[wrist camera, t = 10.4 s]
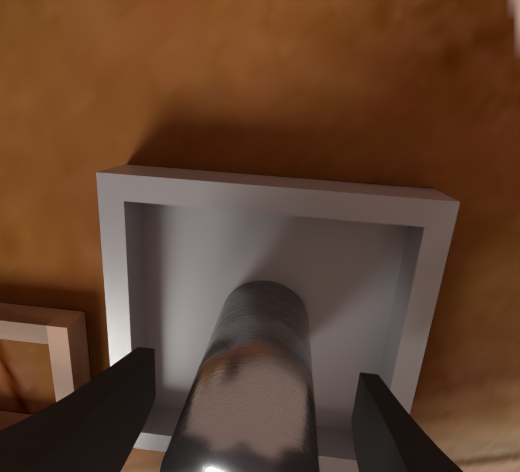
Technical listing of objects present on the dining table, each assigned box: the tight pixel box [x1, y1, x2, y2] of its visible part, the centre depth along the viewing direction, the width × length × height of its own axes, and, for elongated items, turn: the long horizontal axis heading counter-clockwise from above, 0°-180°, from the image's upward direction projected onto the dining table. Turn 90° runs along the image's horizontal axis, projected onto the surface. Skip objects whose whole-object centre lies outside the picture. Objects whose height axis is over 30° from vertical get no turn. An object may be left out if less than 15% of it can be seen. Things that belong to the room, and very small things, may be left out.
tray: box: [96, 164, 460, 472], centre depth 16 cm, size 13×13×2 cm
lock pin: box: [160, 280, 320, 472], centre depth 13 cm, size 4×4×8 cm
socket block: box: [0, 303, 91, 430], centre depth 19 cm, size 8×8×2 cm
